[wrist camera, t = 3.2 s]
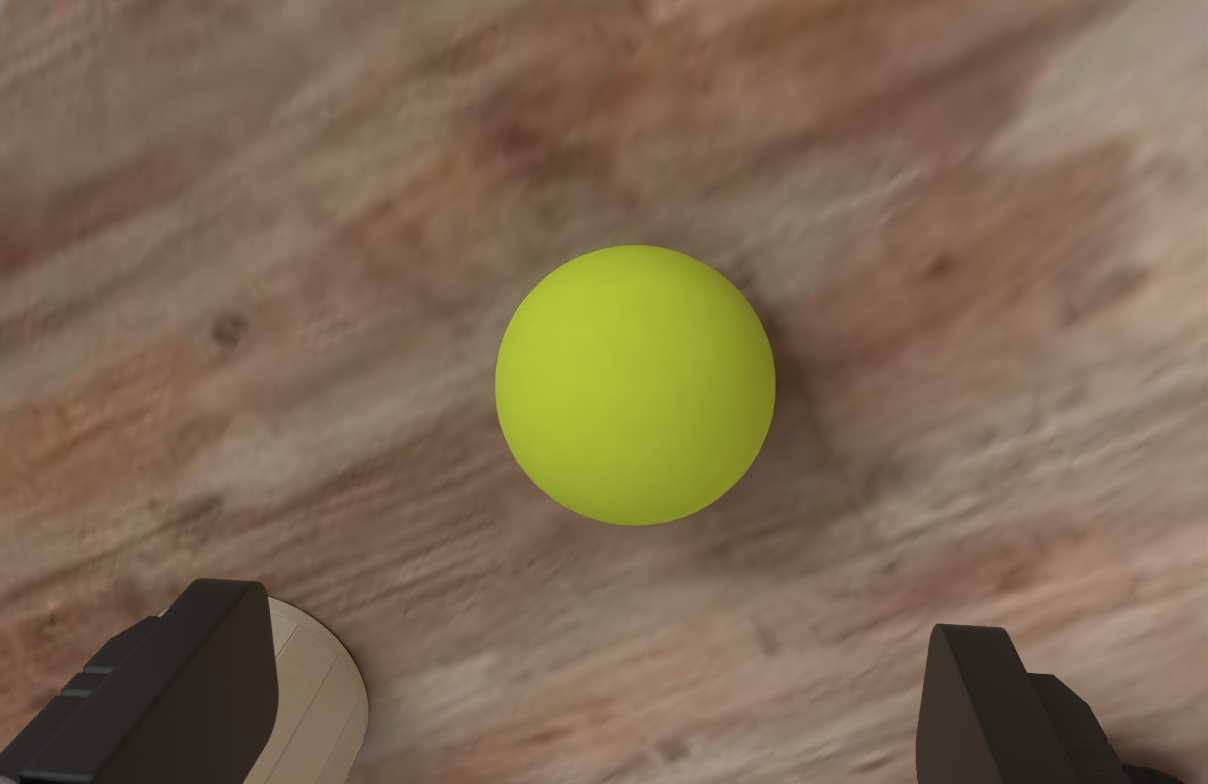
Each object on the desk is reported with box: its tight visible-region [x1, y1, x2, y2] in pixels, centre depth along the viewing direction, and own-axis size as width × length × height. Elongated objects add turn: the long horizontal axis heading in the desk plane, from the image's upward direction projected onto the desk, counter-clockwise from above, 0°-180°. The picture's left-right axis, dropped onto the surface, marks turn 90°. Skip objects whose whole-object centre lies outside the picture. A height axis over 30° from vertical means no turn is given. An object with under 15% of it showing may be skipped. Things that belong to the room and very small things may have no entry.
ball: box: [495, 245, 775, 525], centre depth 22 cm, size 6×6×6 cm
